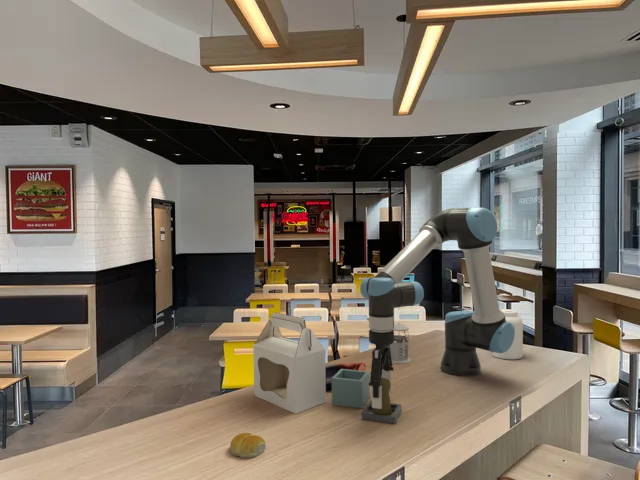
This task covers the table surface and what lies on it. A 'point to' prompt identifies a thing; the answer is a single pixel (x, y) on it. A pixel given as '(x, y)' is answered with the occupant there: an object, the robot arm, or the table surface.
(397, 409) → the socket collar
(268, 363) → the gable box
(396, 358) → the french press
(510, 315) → the white jar
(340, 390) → the open box
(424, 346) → the table surface
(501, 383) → the table surface
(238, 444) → the bread roll
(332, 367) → the dish
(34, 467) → the table surface
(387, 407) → the olive brown hourglass shape
